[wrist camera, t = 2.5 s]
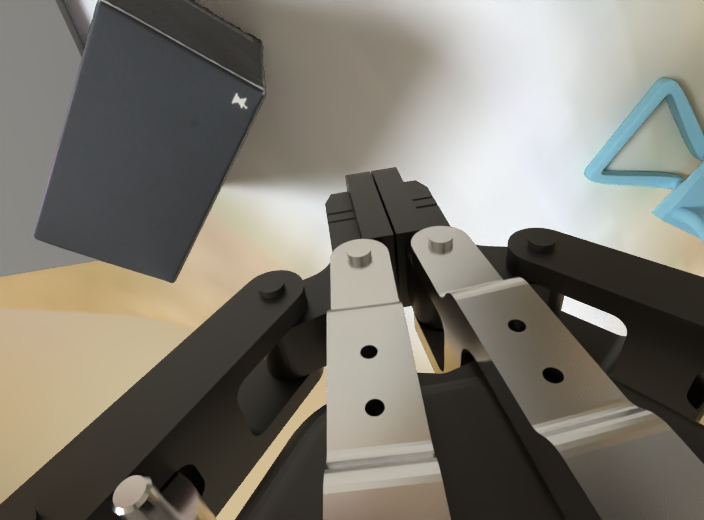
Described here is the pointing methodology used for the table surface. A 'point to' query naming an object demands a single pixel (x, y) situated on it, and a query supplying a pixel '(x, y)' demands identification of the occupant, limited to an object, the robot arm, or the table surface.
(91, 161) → the small box
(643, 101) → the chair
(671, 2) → the table surface
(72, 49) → the mat
